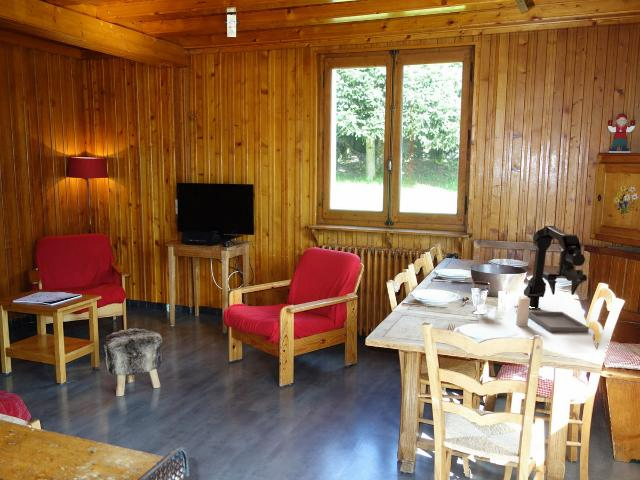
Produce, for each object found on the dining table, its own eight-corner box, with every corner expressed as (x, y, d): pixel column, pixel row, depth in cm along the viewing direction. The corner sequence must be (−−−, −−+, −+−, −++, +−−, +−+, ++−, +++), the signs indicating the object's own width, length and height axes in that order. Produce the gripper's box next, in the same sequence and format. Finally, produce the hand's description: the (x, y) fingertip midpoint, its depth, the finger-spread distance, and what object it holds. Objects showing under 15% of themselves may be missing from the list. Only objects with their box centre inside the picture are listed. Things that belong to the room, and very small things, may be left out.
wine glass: (486, 316, 276) (489, 285, 274) (469, 313, 279) (472, 283, 276) (488, 311, 283) (490, 282, 281) (471, 309, 286) (474, 280, 284)
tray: (526, 316, 278) (526, 311, 278) (561, 316, 280) (562, 311, 279) (549, 332, 255) (550, 327, 254) (588, 332, 256) (588, 327, 256)
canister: (514, 323, 266) (516, 296, 264) (524, 323, 266) (527, 296, 264) (518, 326, 261) (521, 299, 259) (529, 327, 261) (532, 299, 259)
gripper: (555, 264, 252) (551, 299, 255) (595, 265, 254) (591, 299, 256) (543, 259, 263) (540, 292, 266) (582, 260, 265) (578, 293, 267)
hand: (562, 294), depth 263 cm, fingers open, 9 cm apart
